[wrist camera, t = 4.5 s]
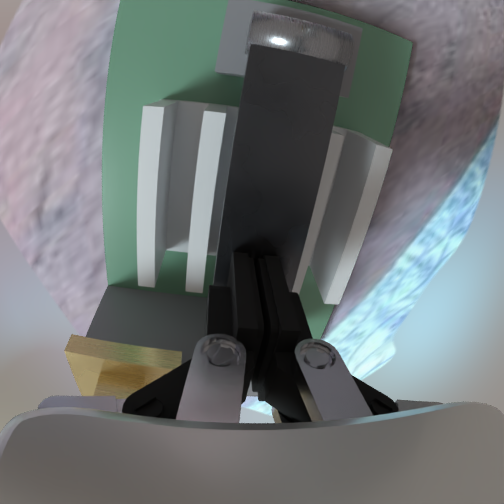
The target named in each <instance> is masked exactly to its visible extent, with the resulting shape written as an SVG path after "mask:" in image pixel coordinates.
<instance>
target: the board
mask: <svg viewBox="0 0 504 504" xmlns="http://www.w3.org/2000/svg"><path fill="white" fill-rule="evenodd" d="M254 10H257V11H262V12H268V13H273V14H278V15H283V16H288V17H292V18H297V19H301V20H305V21H309V22H313V23H317V24H320V25H324V26H327V27H331V28H334V29H337V30H341V31H344V32H347V33H350V34H352V36H353V39H354V49H353V54H352V58H351V61H350V63H349V66H348V68H347V69H346V71H345V72H344V75H343V80H342V85H341V90H340V95H339V100H338V105H337V110H336V115H335V120H334V124H333V129H332V134H331V138H330V143H329V147H328V152H327V156H326V160H325V165H324V169H323V173H322V178H321V182H320V186H319V190H318V194H317V198H316V202H315V206H314V210H313V214H312V218H311V222H310V226H309V230H308V234H307V238H306V242H305V246H304V249H303V253H302V257H301V261H300V264H299V268H298V272H297V275H296V279H295V282H294V286H293V290H292V292H296V293H298V295H299V297H300V300H301V303H302V306H303V309H304V313H305V316H306V319H307V322H308V325H309V328H310V331H311V334H312V337H313V339H319V340H320V338H321V336H322V334H323V331H324V329H325V327H326V325H327V322H328V320H329V318H330V315H331V313H332V310H333V308H334V306H335V304H338V305H339V303H340V300H341V298H342V295H343V293H344V290H345V288H346V286H347V283H348V281H349V278H350V275H351V273H352V270H353V268H354V265H355V263H356V260H357V257H358V255H359V252H360V249H361V247H362V244H363V241H364V238H365V235H366V233H367V230H368V227H369V224H370V221H371V218H372V215H373V212H374V209H375V206H376V203H377V200H378V197H379V194H380V191H381V188H382V185H383V181H384V178H385V175H386V172H387V168H388V165H389V162H390V158H391V155H392V151H393V149H391V148H389V146H390V142H391V139H392V135H393V131H394V127H395V123H396V119H397V115H398V111H399V107H400V103H401V99H402V94H403V90H404V85H405V81H406V76H407V71H408V66H409V61H410V56H411V50H412V45H413V43H412V42H410V41H408V40H406V39H404V38H401V37H399V36H397V35H395V34H392V33H390V32H387V31H385V30H383V29H380V28H377V27H375V26H372V25H370V24H367V23H364V22H362V21H359V20H356V19H353V18H350V17H347V16H344V15H341V14H338V13H334V12H331V11H328V10H324V9H321V8H317V7H313V6H310V5H306V4H302V3H297V2H293V1H289V0H120V5H119V9H118V14H117V19H116V25H115V30H114V36H113V42H112V48H111V55H110V62H109V69H108V78H107V87H106V97H105V109H104V124H103V144H102V210H103V231H104V247H105V259H106V270H107V279H108V287H107V289H106V291H105V293H104V296H103V298H102V300H101V302H100V304H99V307H98V309H97V311H96V313H95V316H94V318H93V320H92V323H91V325H90V327H89V330H88V332H87V335H86V337H88V338H93V339H99V340H104V341H110V342H116V343H122V344H129V345H135V346H142V347H149V348H157V349H165V350H173V351H181V352H182V364H183V363H185V362H187V361H188V360H190V359H191V358H192V357H193V353H194V350H195V346H196V344H197V343H198V341H199V340H200V339H201V338H203V337H205V320H206V307H207V298H208V289H209V285H213V278H214V270H215V262H216V254H217V247H218V239H219V232H220V225H221V217H222V210H223V203H224V196H225V190H226V183H227V176H228V170H229V163H230V157H231V150H232V144H233V138H234V132H235V126H236V120H237V114H238V108H239V102H240V96H241V91H242V85H243V79H244V74H245V68H246V63H247V58H248V55H247V54H245V48H246V42H247V37H248V32H249V27H250V22H251V18H252V14H253V11H254ZM247 396H258V392H253V391H252V384H251V382H250V386H249V389H248V393H247Z"/></svg>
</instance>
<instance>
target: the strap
mask: <svg viewBox="0 0 504 504" xmlns="http://www.w3.org/2000/svg"><path fill="white" fill-rule="evenodd" d="M353 49H354V39H353V36H352V34H350V33H347V32H344V31H341V30H337V29H334V28H331V27H327V26H324V25H320V24H317V23H313V22H309V21H305V20H301V19H297V18H292V17H288V16H283V15H278V14H273V13H268V12H262V11H257V10H254V11H253V14H252V18H251V22H250V27H249V32H248V37H247V42H246V48H245V54H247V55H248V58H247V63H246V68H245V74H244V79H243V85H242V91H241V96H240V102H239V108H238V114H237V120H236V126H235V132H234V138H233V144H232V150H231V157H230V163H229V170H228V176H227V183H226V190H225V196H224V203H223V210H222V217H221V225H220V232H219V239H218V247H217V254H216V262H215V270H214V278H213V285H217V286H227V283H228V277H229V270H230V263H231V257H232V252H239V253H248V257H250V258H253V260H254V266H255V267H256V262H257V259H258V258H259V259H262V258H263V256H264V255H268V256H277V257H279V258H280V262H281V265H282V268H283V272H284V275H285V278H286V282H287V285H288V289H289V292H292V290H293V286H294V282H295V279H296V275H297V272H298V268H299V264H300V261H301V257H302V253H303V249H304V246H305V242H306V238H307V234H308V230H309V226H310V222H311V218H312V214H313V210H314V206H315V202H316V198H317V194H318V190H319V186H320V182H321V178H322V173H323V169H324V165H325V160H326V156H327V152H328V147H329V143H330V138H331V134H332V129H333V124H334V120H335V115H336V110H337V105H338V100H339V95H340V90H341V85H342V80H343V75H344V72H345V71H346V69H347V68H348V66H349V63H350V61H351V58H352V54H353Z"/></svg>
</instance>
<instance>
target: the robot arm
mask: <svg viewBox="0 0 504 504" xmlns="http://www.w3.org/2000/svg"><path fill="white" fill-rule="evenodd" d="M250 382H251V384H252V391H253V392H258V400H259V401H266V402H267V403H268V404H270V405H271V406H272V415H273V418H274V421H275V423H267V424H266V423H262V424H261V423H258V424H256V423H253V424H252V423H239V420H240V410H241V404H242V403H243V402H244V401H245V400H246V396H247V393H248V389H249V386H250ZM0 504H504V414H503V413H502V412H501V411H500V410H498V409H497V408H496V407H493V406H491V405H487V404H484V403H479V402H454V403H446V404H443V403H439V402H422V401H408V400H397V401H396V402H395V403H394V401H393V400H392V399H390V398H389V397H388V396H386V395H384V394H383V393H381V392H379V391H377V390H376V389H374V388H372V387H371V386H369V385H367V384H366V383H364V382H362V381H361V380H359V379H357V378H356V377H354V376H352V375H351V374H350V372H349V370H348V369H347V367H346V365H345V363H344V361H343V360H342V358H341V356H340V354H339V352H338V351H337V350H336V349H335V347H333V346H332V345H331V344H329V343H327V342H325V341H323V340H319V339H313V337H312V334H311V331H310V328H309V325H308V322H307V319H306V316H305V313H304V309H303V306H302V303H301V300H300V297H299V295H298V293H296V292H289V289H288V285H287V282H286V278H285V275H284V272H283V268H282V265H281V262H280V258H279V257H277V256H268V255H264V256H263V258H262V259H259V258H258V259H257V262H256V267H255V266H254V260H253V258H250V257H248V253H239V252H232V257H231V263H230V270H229V277H228V283H227V286H217V285H209V289H208V298H207V307H206V320H205V337H203V338H201V339H200V340H199V341H198V343H197V344H196V346H195V350H194V353H193V357H192V358H191V359H190V360H188V361H187V362H185V363H183V364H182V365H180V366H178V367H177V368H175V369H173V370H172V371H170V372H168V373H167V374H165V375H163V376H162V377H160V378H158V379H156V380H155V381H153V382H151V383H150V384H148V385H146V386H144V387H143V388H141V389H139V390H137V391H136V392H134V393H132V394H131V395H130V396H129V397H127V399H116V397H115V396H51V397H48V398H46V399H44V400H43V401H42V402H41V403H40V404H39V406H38V409H36V410H31V411H27V412H24V413H21V414H19V415H17V416H15V417H13V418H12V419H11V420H10V421H9V422H8V423H7V424H6V425H5V426H4V428H3V429H2V431H1V432H0Z"/></svg>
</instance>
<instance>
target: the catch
mask: <svg viewBox="0 0 504 504" xmlns="http://www.w3.org/2000/svg"><path fill="white" fill-rule="evenodd" d="M65 354H66V357H67V360H68V362H69V365H70V368H71V370H72V373H73V375H74V378H75V380H76V383H77V385H78V388H79V390H80V392H81V395H82V396H115V397H116V399H127V397H129V396H130V395H131V394H132V393H134V392H136V391H137V390H139V389H141V388H143V387H144V386H146V385H148V384H150V383H151V382H153V381H155V380H156V379H158V378H160V377H162V376H163V375H165V374H167V373H168V372H170V371H172V370H173V369H175V368H177V367H178V366H180V365H182V352H181V351H173V350H165V349H157V348H149V347H142V346H135V345H129V344H122V343H116V342H110V341H104V340H99V339H93V338H88V337H83V336H78V335H73V334H72V335H71V337H70V339H69V341H68V344H67V346H66V348H65Z"/></svg>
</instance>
